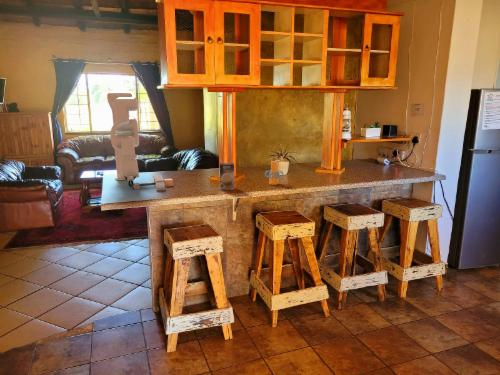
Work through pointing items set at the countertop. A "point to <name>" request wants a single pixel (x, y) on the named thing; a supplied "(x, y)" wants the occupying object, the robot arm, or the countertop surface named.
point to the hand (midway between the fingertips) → (131, 186)
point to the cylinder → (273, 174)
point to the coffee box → (226, 176)
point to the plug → (166, 182)
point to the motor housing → (159, 182)
